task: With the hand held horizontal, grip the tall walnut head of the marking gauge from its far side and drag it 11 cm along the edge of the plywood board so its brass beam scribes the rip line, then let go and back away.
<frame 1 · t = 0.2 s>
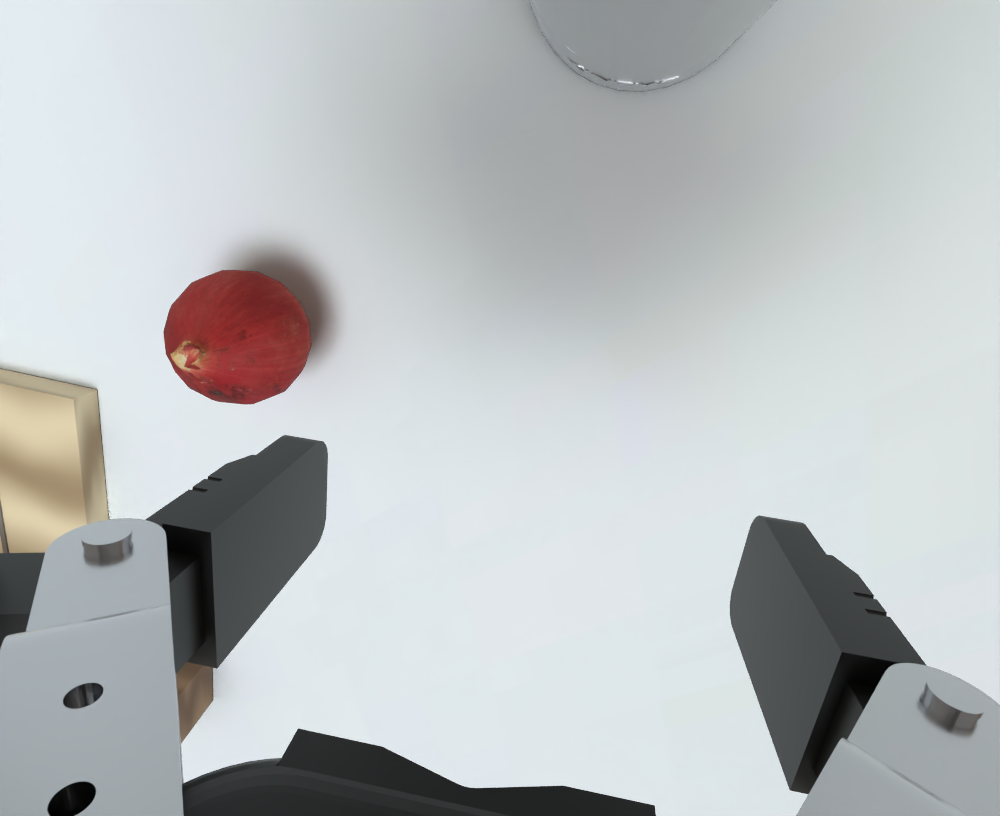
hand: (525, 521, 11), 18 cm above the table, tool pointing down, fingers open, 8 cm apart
board: (52, 540, 37), on the table
onion: (283, 319, 30), on the table
gauge: (28, 746, 33), point 7 cm above the table, slide at 0.0 cm
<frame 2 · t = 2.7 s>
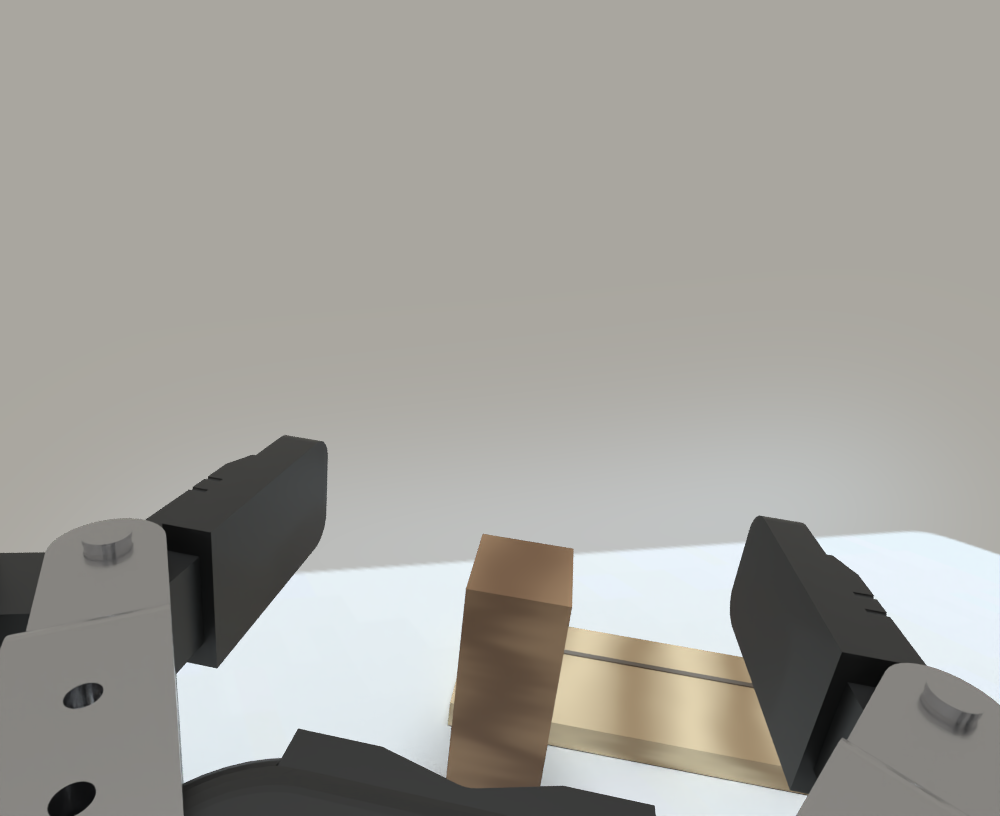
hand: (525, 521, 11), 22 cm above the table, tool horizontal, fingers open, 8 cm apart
board: (639, 705, 36), on the table
gauge: (515, 632, 31), point 7 cm above the table, slide at 0.0 cm
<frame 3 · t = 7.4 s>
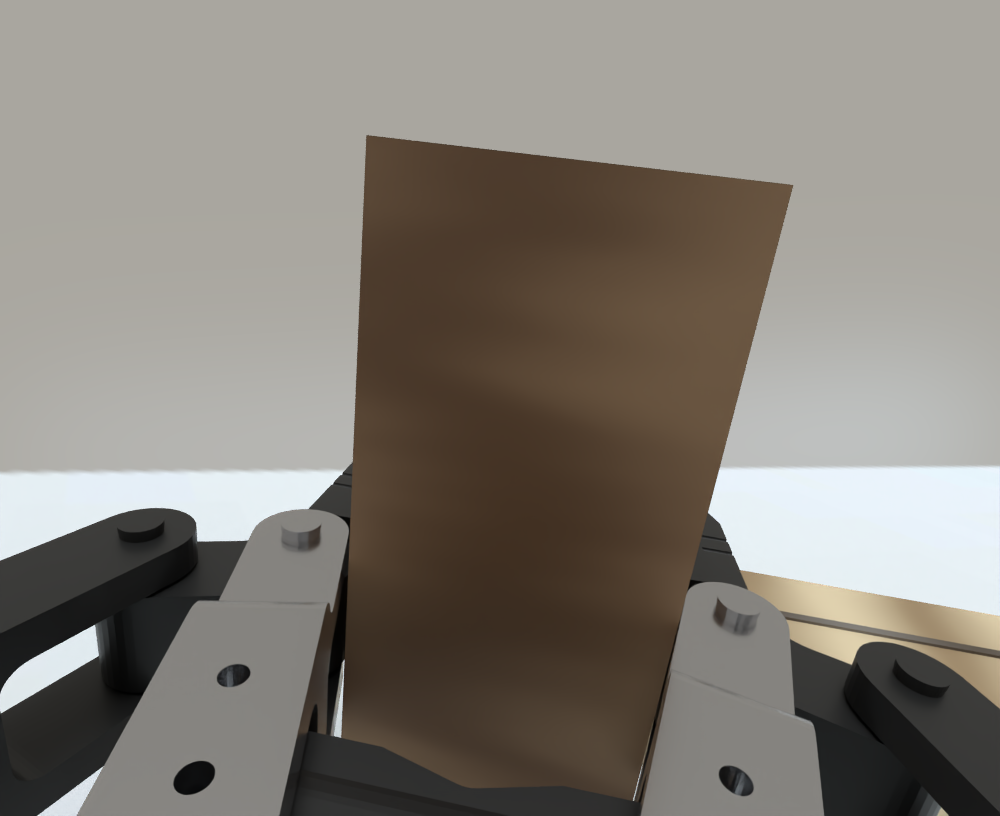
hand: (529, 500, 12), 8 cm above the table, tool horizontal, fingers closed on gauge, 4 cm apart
board: (757, 681, 19), on the table
gauge: (531, 504, 14), point 7 cm above the table, slide at 0.0 cm, touching gripper
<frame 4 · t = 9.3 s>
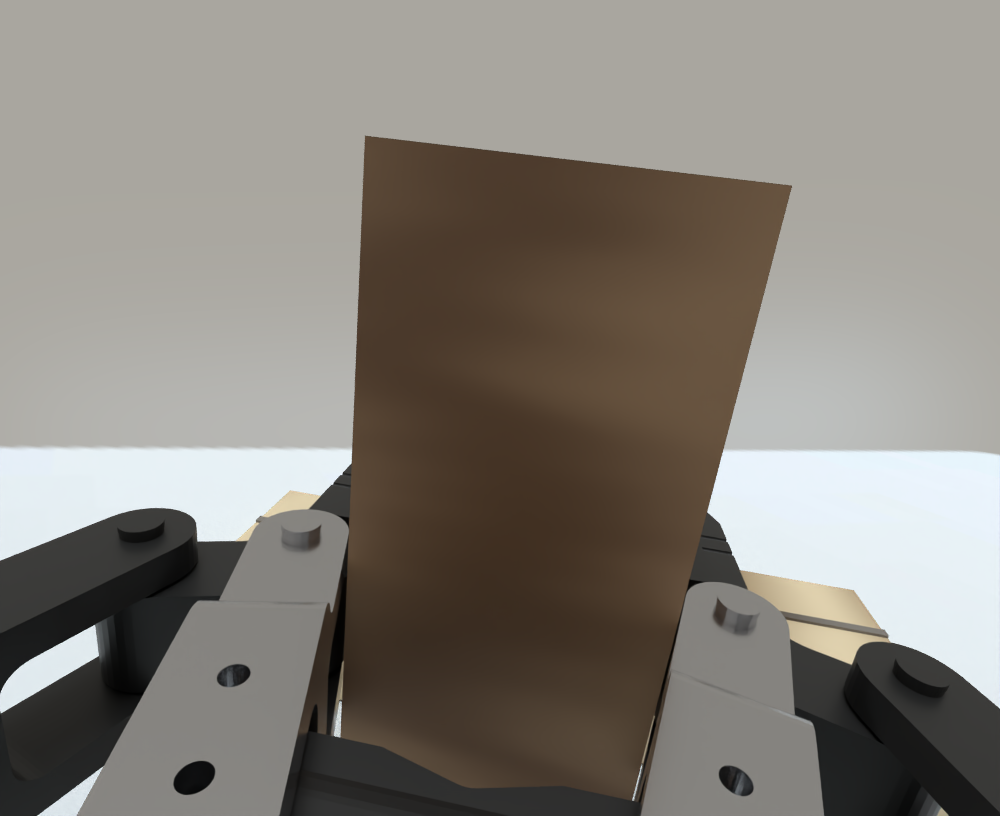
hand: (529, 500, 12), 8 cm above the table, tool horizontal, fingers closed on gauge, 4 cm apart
board: (546, 641, 20), on the table
gauge: (531, 504, 14), point 7 cm above the table, slide at 6.9 cm, touching gripper
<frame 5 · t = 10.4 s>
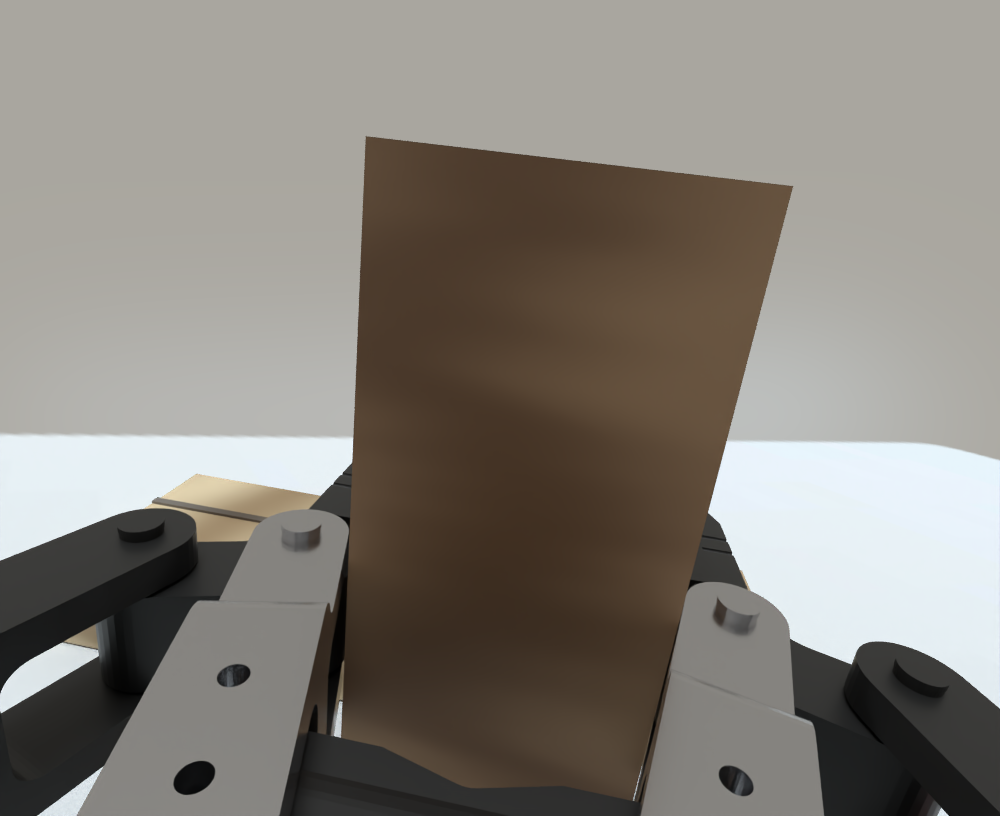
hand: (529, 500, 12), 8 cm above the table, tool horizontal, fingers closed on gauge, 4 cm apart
board: (428, 618, 20), on the table
gauge: (532, 504, 14), point 7 cm above the table, slide at 11.0 cm, touching gripper
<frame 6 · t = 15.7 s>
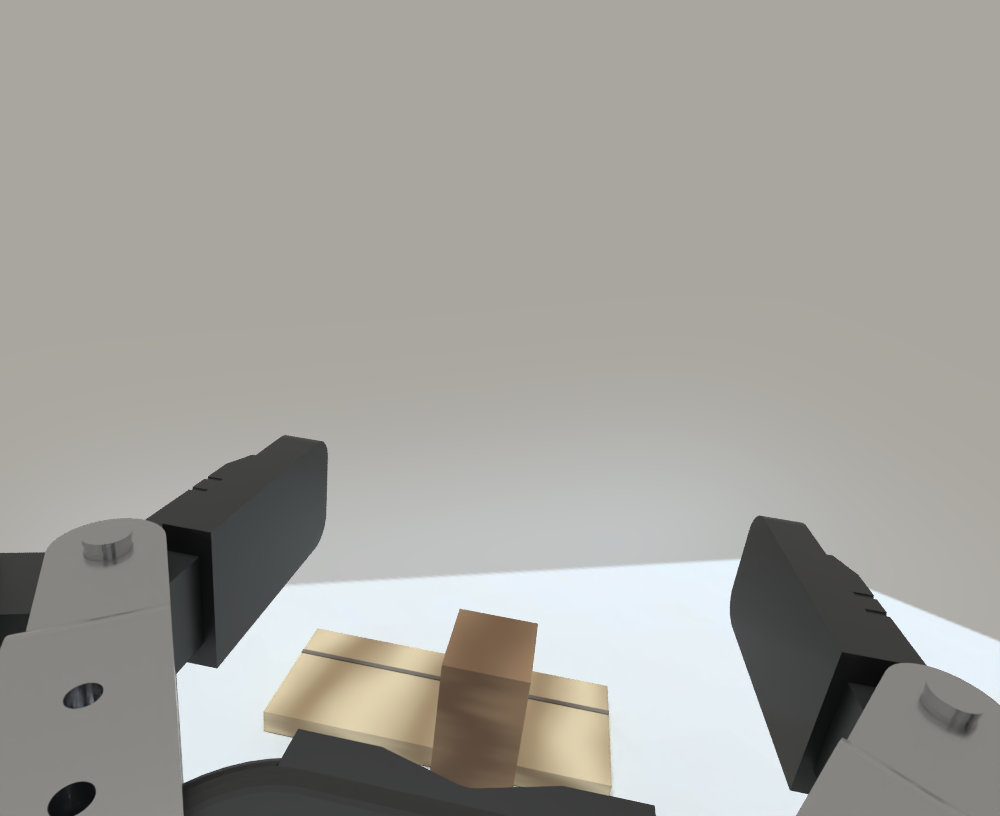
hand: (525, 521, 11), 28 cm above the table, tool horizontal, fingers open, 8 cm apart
board: (445, 716, 41), on the table
gauge: (490, 688, 35), point 7 cm above the table, slide at 11.0 cm
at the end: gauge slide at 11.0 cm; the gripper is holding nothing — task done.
